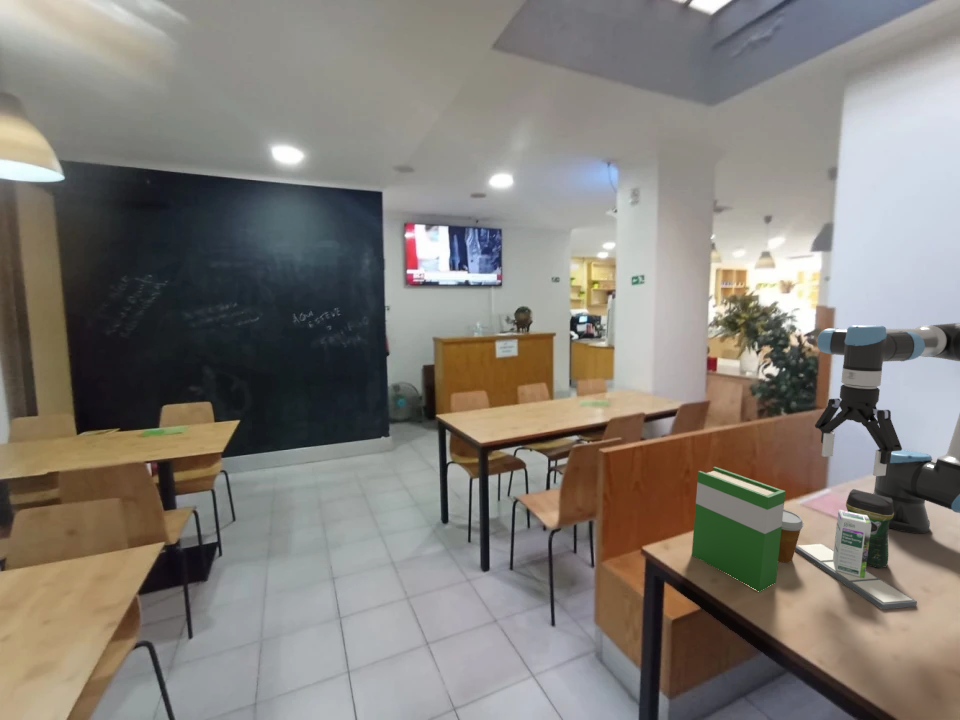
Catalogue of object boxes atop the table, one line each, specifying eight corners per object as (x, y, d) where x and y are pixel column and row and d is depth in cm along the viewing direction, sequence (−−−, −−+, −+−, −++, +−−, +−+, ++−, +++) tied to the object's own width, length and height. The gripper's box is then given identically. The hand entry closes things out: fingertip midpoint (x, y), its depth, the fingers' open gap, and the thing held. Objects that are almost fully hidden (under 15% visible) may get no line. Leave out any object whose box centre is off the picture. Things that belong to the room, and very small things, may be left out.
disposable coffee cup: (759, 560, 116) (763, 518, 114) (755, 543, 124) (759, 503, 123) (802, 570, 112) (807, 527, 110) (796, 552, 120) (800, 511, 118)
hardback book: (691, 554, 118) (698, 471, 115) (708, 547, 122) (715, 466, 119) (758, 592, 103) (768, 497, 100) (775, 583, 106) (785, 491, 103)
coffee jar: (888, 560, 116) (897, 495, 114) (885, 572, 111) (895, 504, 108) (842, 545, 123) (850, 484, 121) (837, 556, 118) (845, 492, 115)
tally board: (821, 547, 122) (822, 543, 122) (916, 606, 99) (917, 600, 98) (793, 549, 121) (793, 544, 121) (882, 609, 97) (882, 603, 97)
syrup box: (835, 571, 109) (841, 517, 107) (832, 559, 114) (838, 508, 112) (864, 579, 106) (872, 523, 104) (860, 567, 111) (867, 514, 109)
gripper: (803, 377, 121) (797, 449, 124) (902, 397, 97) (891, 486, 100) (826, 376, 123) (819, 448, 125) (929, 395, 98) (918, 483, 101)
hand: (851, 465), depth 113 cm, fingers open, 13 cm apart
